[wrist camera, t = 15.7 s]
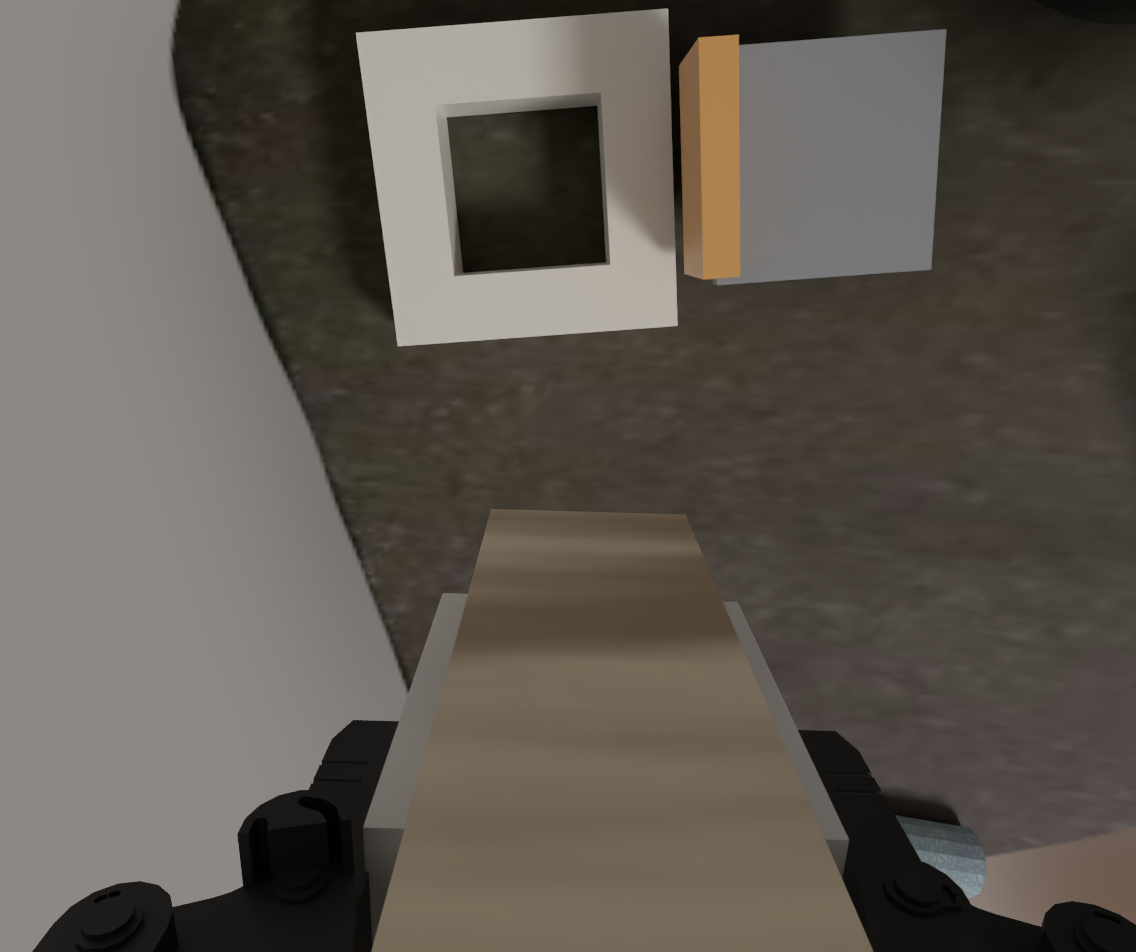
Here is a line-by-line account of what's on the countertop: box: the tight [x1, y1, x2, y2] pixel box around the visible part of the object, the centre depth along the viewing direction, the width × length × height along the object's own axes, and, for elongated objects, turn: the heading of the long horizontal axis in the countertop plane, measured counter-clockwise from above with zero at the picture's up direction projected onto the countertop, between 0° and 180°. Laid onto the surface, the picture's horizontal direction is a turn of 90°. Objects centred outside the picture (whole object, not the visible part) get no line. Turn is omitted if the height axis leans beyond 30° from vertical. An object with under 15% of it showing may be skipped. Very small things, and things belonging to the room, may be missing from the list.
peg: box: [371, 509, 873, 952], centre depth 12 cm, size 4×4×13 cm
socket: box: [356, 8, 678, 346], centre depth 30 cm, size 11×11×3 cm
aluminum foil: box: [895, 815, 986, 899], centre depth 40 cm, size 23×7×3 cm, turn 78°
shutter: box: [679, 29, 946, 285], centre depth 26 cm, size 8×9×5 cm
